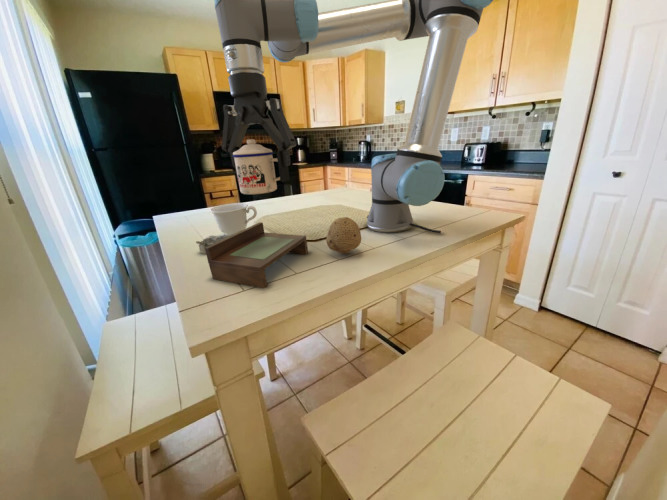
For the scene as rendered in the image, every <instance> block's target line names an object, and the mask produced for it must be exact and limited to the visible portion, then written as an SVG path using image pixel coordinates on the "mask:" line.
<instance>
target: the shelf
mask: <svg viewBox="0 0 667 500" xmlns="http://www.w3.org/2000/svg"><path fill="white" fill-rule="evenodd" d="M205 252H206V254H205V255H206V258H207V263H208V266H209V270H210V273H211V276H212V279H213V280H217V281H223V282H227V283H232V284H233V283H234V284H240V285H245V286H250V287H255V288H261V289H265V288H267V287H268V281H267V276H266V271H265V270H266V269H267V268H269V267H270V266H271V265H273V264H274V263H276V262H277V261H278V260H280V259H281V258H283V257H284V256H285V255H287V254H288V253H291V254H298V255H299V254H300V255H307V254H308V253H309V248H308V241H307V235H300V234H287V233H277V232H276V233H275V232H265V227H264V223H263V222H260V221H259V222H257V223H255V224H253V225H250V226H248V227H246V229H244V230H242V231H240V232H238V233H236V234H233V235H231V236H229V237H227V238H225V239H223V240H221V241H218V242H216V243H214V244H212V245H210V246H208V247H205Z"/></svg>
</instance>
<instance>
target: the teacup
mask: <svg viewBox="0 0 667 500" xmlns="http://www.w3.org/2000/svg"><path fill="white" fill-rule="evenodd" d="M250 210H252V211H253V215H252V216H251V217H248V216H247V214H249V213H250ZM209 212H211V213H212V215H213V217H214V219H215V222H216V224H217V228H218V229H219V231H220V232H221V233H223V234H224V235H231V234H236V233H238V232H240V231H242V230H244V229H246V228H248V227H247V226H248V223H249V222H250V221H252V220H254V219H255V218H256V217H257V215H258V211H257V208H256V206H254V205H253V206H252V205H250V206H248V204H247V203H245V202H243V203H242V202H234V203H233V202H232V203H225V204H220V205H216V206H214V207H212V208H210V209H209ZM247 217H248V218H247Z"/></svg>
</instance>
